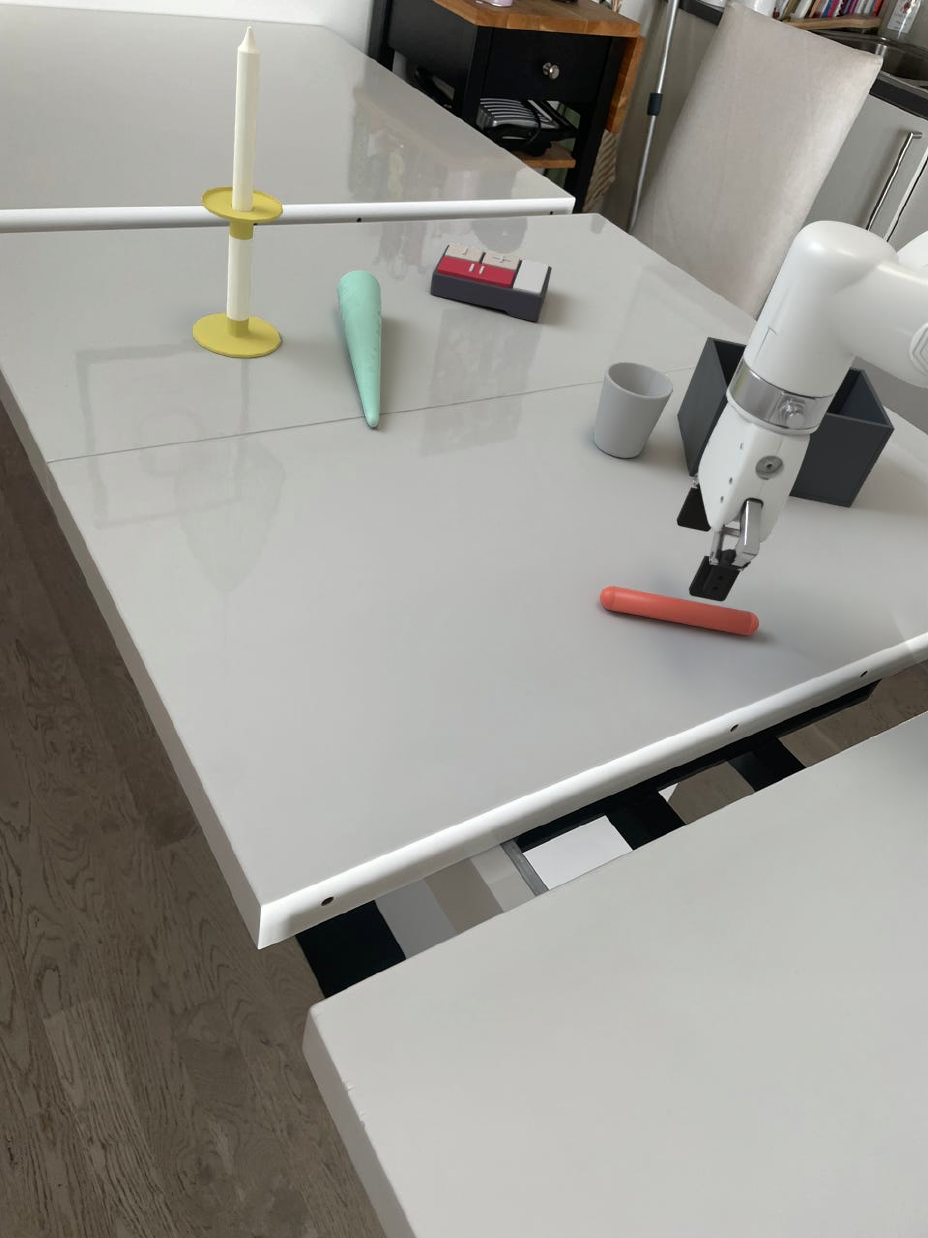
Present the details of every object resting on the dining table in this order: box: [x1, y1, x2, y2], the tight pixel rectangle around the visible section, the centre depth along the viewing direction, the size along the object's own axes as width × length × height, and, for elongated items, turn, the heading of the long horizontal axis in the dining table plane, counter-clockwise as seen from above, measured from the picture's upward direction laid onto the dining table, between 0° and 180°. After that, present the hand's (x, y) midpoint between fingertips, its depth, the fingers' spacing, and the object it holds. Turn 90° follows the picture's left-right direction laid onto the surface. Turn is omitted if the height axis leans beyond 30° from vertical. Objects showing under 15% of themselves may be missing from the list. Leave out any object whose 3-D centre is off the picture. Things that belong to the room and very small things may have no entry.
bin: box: [676, 336, 896, 508], centre depth 113 cm, size 19×13×11 cm
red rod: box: [599, 585, 760, 636], centre depth 91 cm, size 15×2×2 cm, turn 87°
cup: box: [592, 361, 674, 459], centre depth 111 cm, size 8×10×8 cm
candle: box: [192, 19, 284, 359], centre depth 103 cm, size 10×10×32 cm
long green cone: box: [336, 269, 382, 428], centre depth 113 cm, size 5×6×27 cm
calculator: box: [429, 242, 552, 322], centre depth 134 cm, size 11×4×15 cm
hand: (698, 560), depth 87 cm, fingers open, 9 cm apart
